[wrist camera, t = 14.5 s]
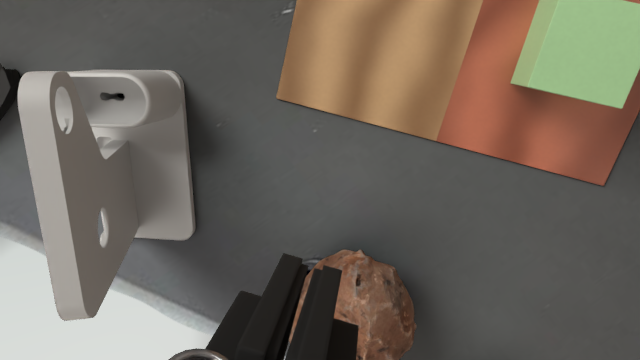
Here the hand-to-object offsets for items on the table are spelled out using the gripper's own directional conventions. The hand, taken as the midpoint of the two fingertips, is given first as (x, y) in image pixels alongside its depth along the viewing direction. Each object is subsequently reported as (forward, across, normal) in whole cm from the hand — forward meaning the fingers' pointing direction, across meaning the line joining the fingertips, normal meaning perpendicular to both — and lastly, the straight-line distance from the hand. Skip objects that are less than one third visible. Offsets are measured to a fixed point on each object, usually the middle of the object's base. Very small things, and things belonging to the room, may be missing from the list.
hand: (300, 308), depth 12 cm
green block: (+29, -15, -11) cm, 34 cm away
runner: (+29, -7, -10) cm, 32 cm away
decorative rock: (+29, -4, +16) cm, 34 cm away
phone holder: (+29, +20, +8) cm, 36 cm away
